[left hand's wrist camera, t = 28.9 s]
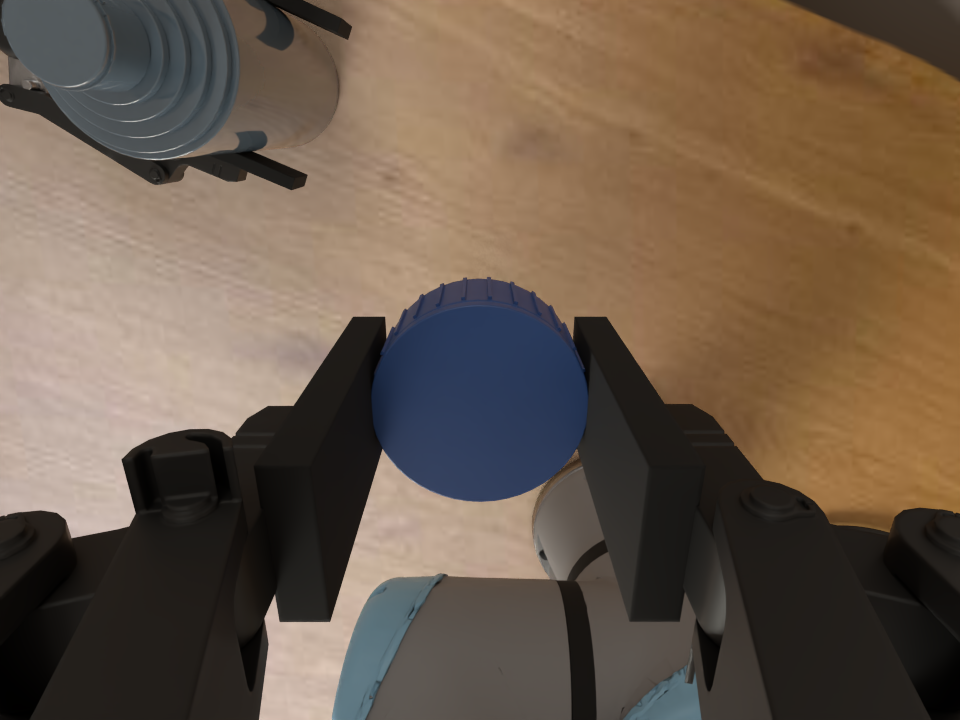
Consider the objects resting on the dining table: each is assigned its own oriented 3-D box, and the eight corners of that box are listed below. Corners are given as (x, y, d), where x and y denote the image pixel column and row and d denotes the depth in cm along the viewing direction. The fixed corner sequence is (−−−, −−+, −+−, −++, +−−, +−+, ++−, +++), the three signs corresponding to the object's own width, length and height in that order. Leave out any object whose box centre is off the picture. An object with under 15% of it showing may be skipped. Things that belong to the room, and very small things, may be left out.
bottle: (338, 19, 38) (170, -113, 17) (339, 152, 41) (196, 177, 20) (210, 6, 38) (-116, -143, 17) (221, 142, 41) (-46, 155, 20)
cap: (364, 290, 13) (344, 319, 11) (567, 261, 13) (583, 286, 11) (403, 463, 15) (391, 515, 13) (583, 440, 15) (599, 490, 13)
